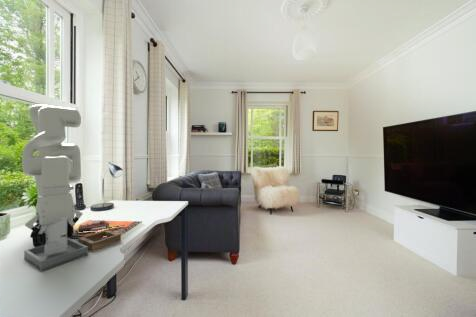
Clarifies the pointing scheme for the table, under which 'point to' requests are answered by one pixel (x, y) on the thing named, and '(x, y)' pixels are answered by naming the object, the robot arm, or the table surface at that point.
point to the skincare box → (56, 236)
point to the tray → (55, 255)
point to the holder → (100, 240)
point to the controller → (35, 237)
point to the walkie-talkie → (95, 226)
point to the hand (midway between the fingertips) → (56, 239)
